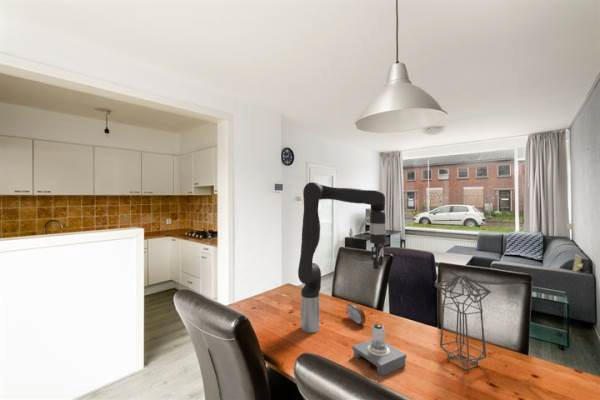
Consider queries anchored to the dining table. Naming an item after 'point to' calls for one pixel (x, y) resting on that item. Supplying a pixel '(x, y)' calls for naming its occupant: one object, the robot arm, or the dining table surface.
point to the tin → (356, 313)
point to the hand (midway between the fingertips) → (378, 267)
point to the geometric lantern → (466, 280)
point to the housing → (378, 339)
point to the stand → (381, 357)
